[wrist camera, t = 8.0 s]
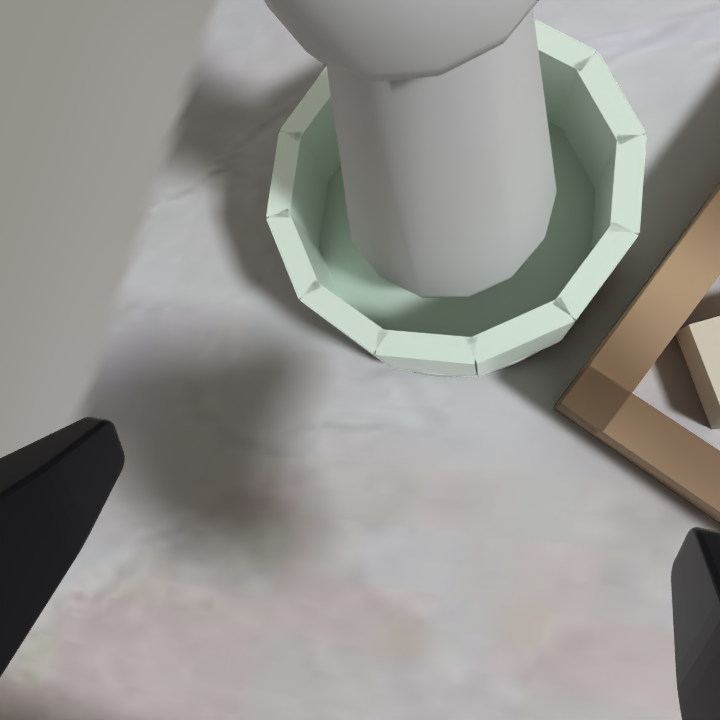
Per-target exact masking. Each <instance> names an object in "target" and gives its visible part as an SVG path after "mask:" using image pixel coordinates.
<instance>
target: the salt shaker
mask: <svg viewBox="0 0 720 720" xmlns="http://www.w3.org/2000/svg"><path fill="white" fill-rule="evenodd" d="M264 1H265V3H266V4H267V6H268V7H269V9H270V10H271V11H272V12H273V13H274V14H275V16H276V17H277V18H278V19H279V20H280V21H281V23H282V24H283V25H284V26H285V27H286V28H287V30H288V31H289V32H290V33H291V34H292V35H293V37H294V38H295V39H296V40H297V41H298V42H299V44H300V45H301V46H302V47H303V48H304V49H305V51H306V52H308V53H309V54H310V55H312V56H313V57H314V58H316V59H317V60H319V61H321V62H323V63H326V66H327V73H328V80H329V87H330V94H331V101H332V108H333V114H334V121H335V128H336V135H337V142H338V149H339V156H340V163H341V170H342V176H343V183H344V190H345V200H346V206H347V213H348V219H349V226H350V232H351V239H352V243H353V244H354V245H355V247H356V248H357V249H358V250H359V252H360V253H361V254H362V255H363V257H364V258H365V259H366V260H367V261H368V263H369V264H370V265H371V266H372V268H373V269H374V270H375V271H376V273H377V274H378V275H379V276H380V277H382V278H384V279H385V280H387V281H389V282H391V283H394V284H396V285H398V286H400V287H402V288H404V289H406V290H408V291H410V292H412V293H414V294H416V295H418V296H420V297H422V298H455V297H470V296H473V295H475V294H477V293H479V292H481V291H484V290H486V289H488V288H490V287H492V286H495V285H497V284H499V283H501V282H503V281H506V280H508V279H510V278H511V277H512V276H513V275H514V274H515V273H516V271H517V270H518V269H519V268H520V267H521V266H522V264H523V263H524V262H525V261H526V260H527V258H528V257H529V256H530V255H531V254H532V253H533V251H534V250H535V249H536V248H537V247H538V245H539V244H540V243H541V242H542V241H543V239H544V238H545V235H546V232H547V228H548V224H549V220H550V216H551V212H552V208H553V204H554V200H555V196H556V192H557V190H556V182H555V174H554V167H553V159H552V151H551V144H550V136H549V128H548V121H547V113H546V105H545V98H544V90H543V82H542V75H541V67H540V59H539V52H538V44H537V36H536V29H535V21H534V13H533V7H534V6H535V4H536V3H537V2H538V1H539V0H264Z"/></svg>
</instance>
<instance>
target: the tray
mask: <svg viewBox="0 0 720 720" xmlns="http://www.w3.org/2000/svg"><path fill="white" fill-rule="evenodd" d="M719 275H720V184H719V185H718V186H717V188H716V189H715V190H714V192H713V193H712V194H711V196H710V197H709V198H708V200H707V201H706V202H705V204H704V205H703V207H702V208H701V209H700V211H699V212H698V213H697V215H696V216H695V217H694V219H693V220H692V221H691V223H690V224H689V225H688V227H687V228H686V229H685V231H684V232H683V233H682V235H681V236H680V238H679V239H678V240H677V242H676V243H675V244H674V246H673V247H672V248H671V250H670V251H669V252H668V254H667V255H666V256H665V258H664V259H663V260H662V262H661V263H660V264H659V266H658V267H657V268H656V270H655V271H654V273H653V274H652V275H651V277H650V278H649V279H648V281H647V282H646V283H645V285H644V286H643V287H642V289H641V290H640V291H639V293H638V294H637V295H636V297H635V298H634V299H633V301H632V302H631V304H630V305H629V306H628V308H627V309H626V310H625V312H624V313H623V314H622V316H621V317H620V318H619V320H618V321H617V322H616V324H615V325H614V326H613V328H612V329H611V330H610V332H609V333H608V334H607V336H606V337H605V339H604V340H603V341H602V343H601V344H600V345H599V347H598V348H597V349H596V351H595V352H594V353H593V355H592V356H591V357H590V359H589V360H588V361H587V363H586V364H585V365H584V367H583V368H582V370H581V371H580V372H579V374H578V375H577V376H576V378H575V379H574V380H573V382H572V383H571V384H570V386H569V387H568V388H567V390H566V391H565V392H564V394H563V395H562V396H561V398H560V399H559V401H558V402H557V403H556V405H555V406H554V407H553V408H554V409H556V410H557V411H559V412H560V413H562V414H563V415H565V416H566V417H567V418H569V419H570V420H572V421H573V422H575V423H576V424H578V425H579V426H580V427H582V428H583V429H585V430H586V431H588V432H589V433H591V434H592V435H593V436H595V437H596V438H598V439H599V440H601V441H602V442H604V443H605V444H606V445H608V446H609V447H611V448H612V449H614V450H615V451H617V452H618V453H619V454H621V455H622V456H624V457H625V458H627V459H628V460H630V461H631V462H632V463H634V464H635V465H637V466H638V467H640V468H641V469H643V470H644V471H645V472H647V473H648V474H650V475H651V476H653V477H654V478H656V479H657V480H658V481H660V482H661V483H663V484H664V485H666V486H667V487H669V488H670V489H671V490H673V491H674V492H676V493H677V494H679V495H680V496H682V497H683V498H684V499H686V500H687V501H689V502H690V503H692V504H693V505H694V506H696V507H697V508H699V509H700V510H702V511H703V512H705V513H706V514H707V515H709V516H710V517H712V518H713V519H715V520H716V521H718V522H719V523H720V451H719V450H717V449H716V448H714V447H713V446H711V445H710V444H708V443H707V442H705V441H704V440H702V439H701V438H699V437H698V436H696V435H695V434H693V433H692V432H690V431H689V430H687V429H686V428H684V427H683V426H681V425H679V424H678V423H676V422H675V421H673V420H672V419H670V418H669V417H667V416H666V415H664V414H663V413H661V412H660V411H658V410H657V409H655V408H654V407H652V406H651V405H649V404H648V403H646V402H645V401H643V400H642V399H640V398H639V397H637V396H635V395H634V394H632V392H633V391H634V389H635V388H636V387H637V385H638V384H639V383H640V381H641V380H642V379H643V377H644V376H645V375H646V373H647V372H648V370H649V369H650V368H651V366H652V365H653V364H654V362H655V361H656V360H657V358H658V357H659V356H660V354H661V353H662V352H663V350H664V349H665V348H666V346H667V345H668V344H669V342H670V341H671V340H672V338H673V337H674V336H675V334H676V333H677V332H678V330H679V329H680V327H681V326H682V325H683V323H684V322H685V321H686V319H687V318H688V317H689V315H690V314H691V313H692V311H693V310H694V309H695V307H696V306H697V305H698V303H699V302H700V301H701V299H702V298H703V297H704V295H705V294H706V293H707V291H708V290H709V288H710V287H711V286H712V284H713V283H714V282H715V280H716V279H717V278H718V276H719Z"/></svg>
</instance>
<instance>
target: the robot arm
mask: <svg viewBox="0 0 720 720" xmlns="http://www.w3.org/2000/svg"><path fill="white" fill-rule="evenodd" d="M124 460H125V456H124V451H123V449H122V446H121V443H120V440H119V437H118V434H117V432H116V429H115V426H114V424H113V423H112V422H111V421H109V420H106V419H100V418H95V417H86V418H83V419H81V420H79V421H77V422H75V423H73V424H71V425H69V426H66V427H65V428H62V429H60V430H58V431H56V432H54V433H52V434H50V435H48V436H46V437H44V438H42V439H40V440H38V441H35V442H33V443H31V444H29V445H27V446H25V447H23V448H21V449H19V450H17V451H15V452H13V453H11V454H8V455H6V456H4V457H2V458H0V677H1V675H2V674H3V672H4V671H5V669H6V667H7V666H8V664H9V663H10V661H11V660H12V658H13V656H14V655H15V653H16V652H17V650H18V649H19V647H20V645H21V644H22V642H23V641H24V639H25V637H26V636H27V634H28V633H29V631H30V630H31V628H32V626H33V625H34V623H35V622H36V620H37V619H38V617H39V615H40V614H41V612H42V611H43V609H44V608H45V606H46V604H47V603H48V601H49V600H50V598H51V596H52V595H53V593H54V592H55V590H56V589H57V587H58V585H59V584H60V582H61V581H62V579H63V578H64V576H65V574H66V573H67V571H68V570H69V568H70V567H71V565H72V563H73V562H74V560H75V559H76V557H77V555H78V554H79V552H80V550H81V549H82V547H83V545H84V543H85V541H86V540H87V538H88V536H89V534H90V532H91V530H92V528H93V526H94V524H95V522H96V520H97V518H98V516H99V514H100V512H101V510H102V508H103V506H104V504H105V502H106V500H107V498H108V496H109V494H110V492H111V491H112V489H113V487H114V485H115V483H116V481H117V479H118V477H119V475H120V473H121V471H122V468H123V465H124ZM671 587H672V605H673V624H674V642H675V661H676V677H677V690H678V697H679V704H680V710H681V716H682V720H720V531H715V530H710V529H704V528H699V527H694V528H692V529H691V530H690V531H689V532H688V534H687V536H686V538H685V540H684V542H683V544H682V546H681V548H680V550H679V552H678V554H677V557H676V559H675V561H674V563H673V567H672V572H671Z"/></svg>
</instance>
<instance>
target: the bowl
mask: <svg viewBox="0 0 720 720" xmlns="http://www.w3.org/2000/svg"><path fill="white" fill-rule="evenodd" d="M534 21H535V29H536V36H537V44H538V52H539V59H540V67H541V75H542V82H543V90H544V98H545V105H546V113H547V121H548V128H549V136H550V144H551V151H552V159H553V167H554V174H555V182H556V190H557V192H556V196H555V200H554V204H553V208H552V212H551V216H550V220H549V224H548V228H547V232H546V235H545V238H544V239H543V241H542V242H541V243H540V244H539V245H538V247H537V248H536V249H535V250H534V251H533V253H532V254H531V255H530V256H529V257H528V258H527V260H526V261H525V262H524V263H523V264H522V266H521V267H520V268H519V269H518V270H517V271H516V273H515V274H514V275H513V276H512V277H511V278H510V279H508V280H506V281H503V282H501V283H499V284H497V285H495V286H492V287H490V288H488V289H486V290H484V291H481V292H479V293H477V294H475V295H473V296H470V297H455V298H422V297H420V296H418V295H416V294H414V293H412V292H410V291H408V290H406V289H404V288H402V287H400V286H398V285H396V284H394V283H391V282H389V281H387V280H385V279H384V278H382V277H380V276H379V275H378V274H377V273H376V271H375V270H374V269H373V268H372V266H371V265H370V264H369V263H368V261H367V260H366V259H365V258H364V257H363V255H362V254H361V253H360V252H359V250H358V249H357V248H356V247H355V245H354V244H353V243H352V239H351V232H350V226H349V219H348V213H347V206H346V200H345V190H344V183H343V176H342V170H341V163H340V156H339V149H338V142H337V135H336V128H335V121H334V114H333V108H332V101H331V94H330V87H329V80H328V73H327V66H326V67H325V68H324V70H323V71H322V72H321V74H320V75H319V77H318V78H317V79H316V81H315V82H314V83H313V85H312V86H311V87H310V89H309V90H308V92H307V93H306V94H305V96H304V97H303V98H302V100H301V101H300V103H299V104H298V105H297V107H296V108H295V109H294V111H293V112H292V113H291V115H290V116H289V118H288V119H287V120H286V122H285V123H284V124H283V126H282V127H281V129H280V131H281V132H279V134H278V140H277V147H276V153H275V160H274V167H273V173H272V180H271V186H270V193H269V200H268V206H267V213H266V217H267V219H266V220H267V222H268V225H269V227H270V230H271V232H272V235H273V237H274V240H275V242H276V245H277V247H278V250H279V252H280V254H281V257H282V259H283V262H284V264H285V267H286V269H287V272H288V274H289V277H290V279H291V282H292V284H293V287H294V289H295V292H296V294H297V297H298V299H300V301H301V302H303V303H304V304H305V305H306V306H308V307H309V308H310V309H312V310H313V311H314V312H315V313H317V314H318V315H319V316H321V317H322V318H323V319H324V320H326V321H327V322H328V323H330V324H331V325H332V326H334V327H335V328H336V329H338V330H339V331H341V332H342V333H343V334H345V335H346V336H347V337H349V338H350V339H351V340H353V341H354V342H356V343H357V344H358V345H360V346H361V347H362V348H363V349H365V350H366V351H368V352H369V353H371V354H372V355H373V356H375V357H376V358H377V359H379V360H380V361H381V362H383V363H384V364H386V365H387V366H388V367H390V368H392V369H397V370H406V371H412V372H415V373H420V374H426V375H432V376H443V377H462V376H465V377H475V378H476V375H478V377H480V376H483V375H485V374H487V373H490V372H493V371H498V370H500V369H503V368H506V367H509V366H512V365H514V364H517V363H519V362H521V361H523V360H525V359H527V358H529V357H531V356H533V355H535V354H536V353H538V352H539V351H541V350H542V349H545V348H547V347H549V346H552V345H554V344H556V343H558V342H560V340H562V339H563V338H564V336H565V335H566V334H567V332H568V331H569V329H570V328H571V327H572V325H573V324H574V323H575V321H576V320H577V319H578V317H579V316H580V315H581V313H582V312H583V311H584V309H585V308H586V307H587V305H588V304H589V303H590V301H591V300H592V298H593V297H594V296H595V294H596V293H597V292H598V290H599V289H600V288H601V286H602V285H603V284H604V282H605V281H606V280H607V278H608V277H609V276H610V274H611V273H612V271H613V270H614V269H615V267H616V266H617V265H618V263H619V262H620V261H621V259H622V258H623V256H624V255H625V254H626V252H627V251H628V250H629V248H630V247H631V245H632V244H633V243H634V241H635V240H636V239H637V237H638V235H639V233H640V222H641V208H642V194H643V180H644V166H645V152H646V138H647V135H645V133H646V131H645V130H644V128H643V126H642V125H641V123H640V121H639V119H638V118H637V116H636V114H635V113H634V111H633V109H632V108H631V106H630V104H629V102H628V101H627V99H626V97H625V96H624V94H623V92H622V91H621V89H620V87H619V86H618V84H617V82H616V80H615V79H614V77H613V75H612V74H611V72H610V70H609V69H608V67H607V65H606V64H605V62H604V60H603V58H602V57H601V55H600V53H599V52H598V53H596V51H597V50H595V49H593V48H591V47H589V46H587V45H585V44H583V43H581V42H579V41H577V40H575V39H573V38H571V37H569V36H567V35H565V34H563V33H561V32H559V31H557V30H555V29H553V28H551V27H549V26H547V25H545V24H543V23H541V22H539V21H537V20H535V19H534Z"/></svg>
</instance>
